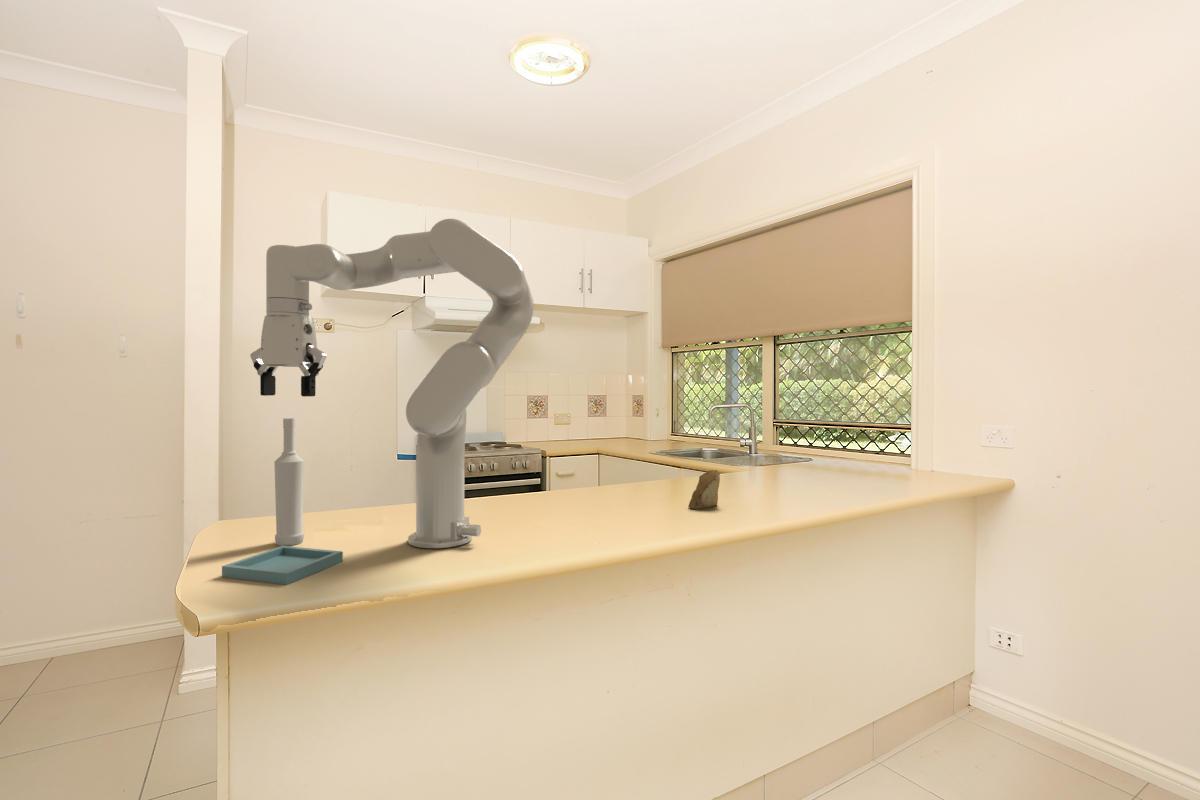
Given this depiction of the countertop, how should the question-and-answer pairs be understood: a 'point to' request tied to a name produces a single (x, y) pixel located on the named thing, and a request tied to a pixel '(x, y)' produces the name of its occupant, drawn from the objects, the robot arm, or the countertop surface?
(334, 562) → the tray
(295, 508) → the bottle
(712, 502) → the rock
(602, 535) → the countertop surface
